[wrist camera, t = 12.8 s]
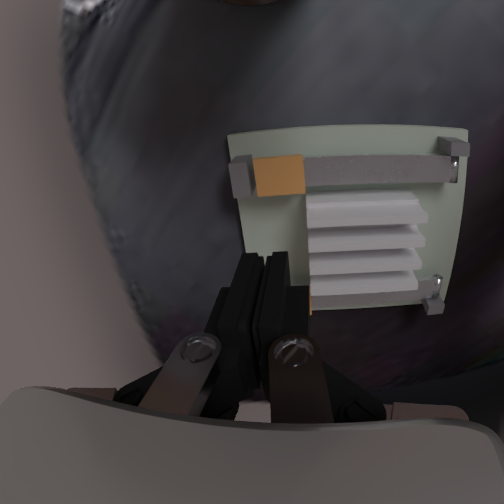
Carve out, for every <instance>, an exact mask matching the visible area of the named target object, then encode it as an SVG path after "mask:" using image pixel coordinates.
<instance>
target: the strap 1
mask: <svg viewBox="0 0 504 504" xmlns="http://www.w3.org/2000/svg"><path fill="white" fill-rule="evenodd" d="M253 166H254V173H255V180H256V187H257V195H258V197H263V196H275V195H289V194H305V193H306V191H305V186H322V185H342V184H368V183H458V169H459V156H450V155H449V154H435V153H351V154H327V155H309V156H302V154H293V155H280V156H269V157H258V158H254V159H253Z"/></svg>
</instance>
